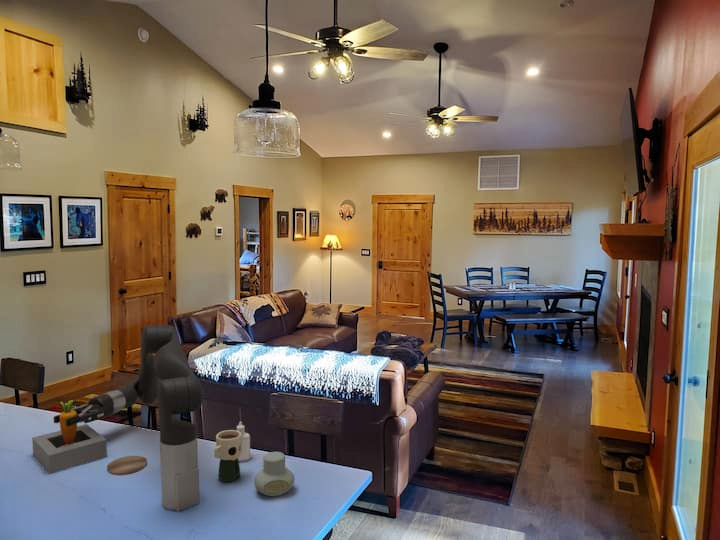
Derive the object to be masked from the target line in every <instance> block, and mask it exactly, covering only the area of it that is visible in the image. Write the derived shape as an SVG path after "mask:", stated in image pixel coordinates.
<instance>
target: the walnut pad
mask: <svg viewBox="0 0 720 540" xmlns="http://www.w3.org/2000/svg"><path fill="white" fill-rule="evenodd" d="M147 465H148V460H147V458H146V457H145V456H142V455H128V456H122V457H120V458H119V457H118V458H117V459H114V460H112V461H111V462H109V463H108V464H107V472H108V473H109V474H110V473H111V475H115V476H124V475H131V474H134V473H137V472H140V471H141V470H144V469H145V468H146V467H147ZM144 467H145V468H144Z"/></svg>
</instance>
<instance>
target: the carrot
mask: <svg viewBox="0 0 720 540" xmlns="http://www.w3.org/2000/svg"><path fill="white" fill-rule="evenodd" d="M74 402H75V401H74V400H73V399H70V400H69V401H68V402H65V403H64V402H63V401H60V402H59V403H60V405H61V406H62V408H63V410H65V411H64V412H62V411H61V413H59V414H58V415H59V420H60V422H59V427H60V431H61V432H62V436H63V438H64V440H65V442H66V444H67V445H70V444H73V442H74V439H75V436H76V431H77V426H78V423H76V424H73V425H71V426H66V419H68V418H71V417H74V416H77V412H75V411H74V410H71V409H73V408H74V406H72V405H74V404H73V403H74ZM71 406H72V407H71Z"/></svg>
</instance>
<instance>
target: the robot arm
mask: <svg viewBox="0 0 720 540" xmlns="http://www.w3.org/2000/svg"><path fill="white" fill-rule="evenodd" d="M140 337H141V338H140V359H139V360H140V365H139V366H140V367H139V372H138V375H137V378H136V379H134V380H133V381H131V382H130V383H128V384H127V385H126V386H124V387H121V388H118V389H116V390H111V391H107V392H106V393H102V394H98V395H97V396H93V397H92V398H90V399H89V401H88V403H86V404H85V403H84V404H81V405H80V406H78V404H77V403H75V404H72V406H74V408H73V409H71V410H74V411H75V412H76V413H77V416H74V417H71V418H68V419H66V426H71V425H73V424H76V423H77V424H82V423H83V424H88V423H92V422H95V421H99V420H102V419H104V418H106V417H109V416H111V415H114V414H117V413H119V412H120V411H122V410H125V409H128V408H129V407H132V406H134V405H136V403H137V402H138V399H139V400H140V402H142V403H143V404H144V405H151V404H154V403H156V401H157V405H158V416H159V445H160V446H159V447H160V448H159V449H160V481H161V483H160V486H161V506H162V507H163V508H164V509H167V510H171V511H176V512H180V511H183V510H185V509H188V508H190V507H192V506H195V505H197V504H199V503H200V473H199V471H200V469H199V460H198V459H199V458H198V453H199V451H198V428H197V425H196V424H194V422H190V421H186V420H181V419H178V418H176V417H174V415H181V414H186V413H192V412H195V411H197V410H199V409H200V408H201V407H202V405H203V401H204V393H203V388H202V385H201V382H200V380H199V378H198V377H197V375H196V374H195V372H194V371H193V370H192V368H191V367H190V364H189V362H188V358H187V356H186V354H185V352H184V350H183V348H182V345H181V343H180V337H179V334H178V331H177V329H176V327H175V326H173V325H170V324H169V325H167V324H150V325H146V326H144V328H143V330H142V332H141V336H140ZM154 354H155V355H154ZM72 406H71V407H72ZM64 411H65V410H64V409H62V411H61V413H62V412H64ZM59 415H60V414H57V415H54V416H53V424H58V423H59V424H60V420H59Z"/></svg>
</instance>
